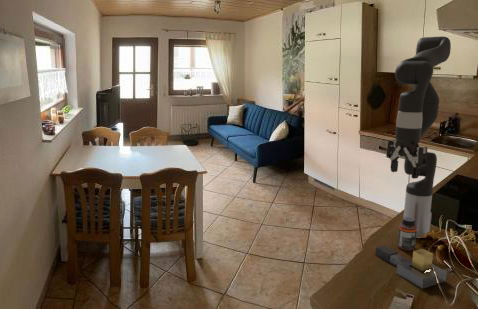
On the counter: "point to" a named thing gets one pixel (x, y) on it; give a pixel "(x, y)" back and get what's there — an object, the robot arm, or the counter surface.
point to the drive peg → (422, 260)
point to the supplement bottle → (407, 234)
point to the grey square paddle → (410, 268)
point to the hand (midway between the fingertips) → (404, 174)
